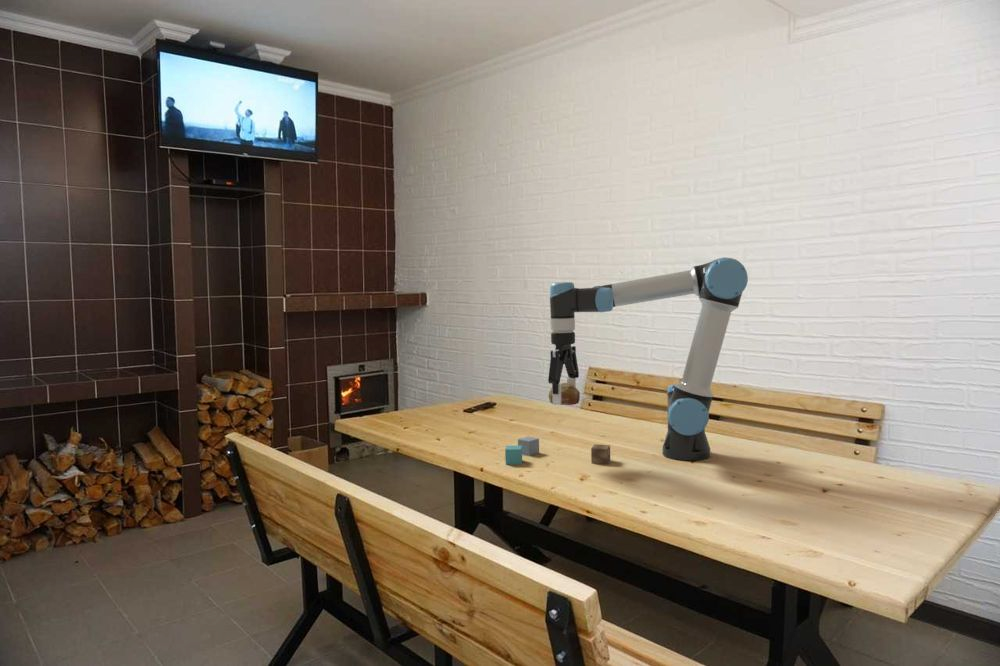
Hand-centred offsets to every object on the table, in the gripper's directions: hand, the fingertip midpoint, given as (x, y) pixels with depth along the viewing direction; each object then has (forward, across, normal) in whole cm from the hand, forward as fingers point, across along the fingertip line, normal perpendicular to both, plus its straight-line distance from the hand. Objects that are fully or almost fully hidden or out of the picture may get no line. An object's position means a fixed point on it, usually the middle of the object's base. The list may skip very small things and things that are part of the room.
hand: (564, 401), depth 223 cm
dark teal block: (+20, +7, -15) cm, 26 cm away
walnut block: (+20, -5, +10) cm, 23 cm away
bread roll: (+1, 0, 0) cm, 1 cm away
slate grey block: (+20, -5, -16) cm, 26 cm away
